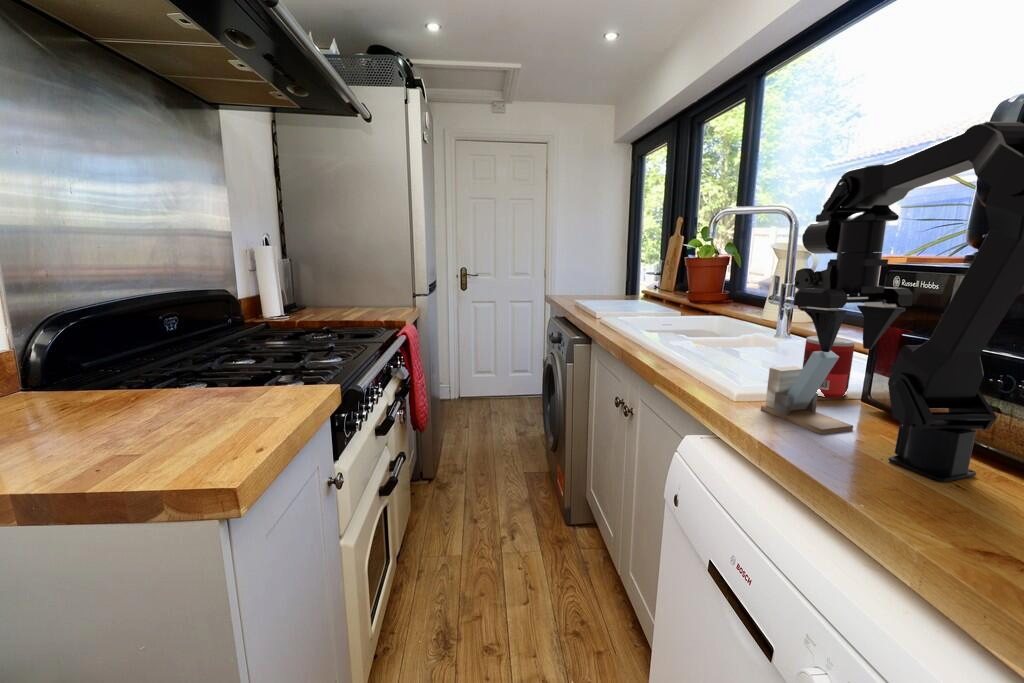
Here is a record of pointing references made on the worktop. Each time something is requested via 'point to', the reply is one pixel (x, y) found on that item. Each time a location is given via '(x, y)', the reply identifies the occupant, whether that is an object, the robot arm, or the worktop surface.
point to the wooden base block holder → (781, 402)
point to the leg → (811, 378)
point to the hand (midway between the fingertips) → (846, 350)
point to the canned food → (841, 370)
